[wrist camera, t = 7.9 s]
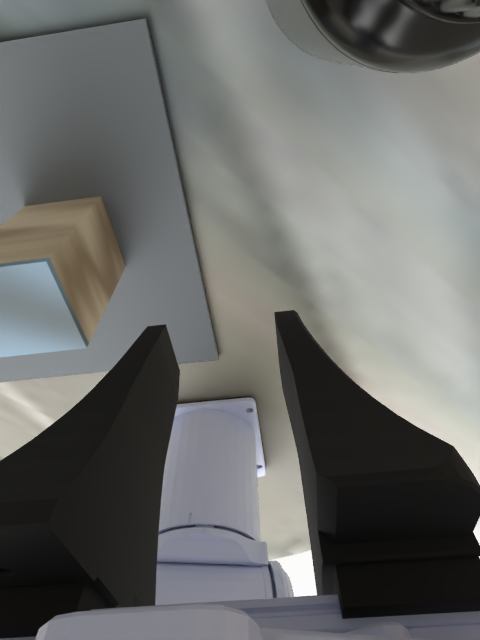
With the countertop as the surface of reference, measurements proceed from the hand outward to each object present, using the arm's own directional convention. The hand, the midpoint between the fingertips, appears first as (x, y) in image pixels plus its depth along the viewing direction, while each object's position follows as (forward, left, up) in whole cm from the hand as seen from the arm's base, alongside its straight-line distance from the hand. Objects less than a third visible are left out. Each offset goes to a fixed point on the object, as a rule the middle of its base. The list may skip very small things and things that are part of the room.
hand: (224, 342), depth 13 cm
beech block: (+1, +8, -10) cm, 12 cm away
